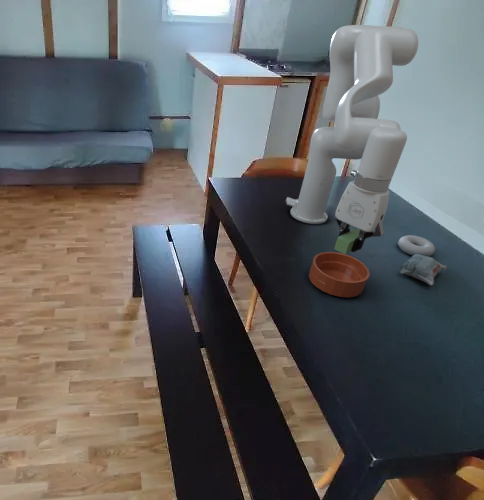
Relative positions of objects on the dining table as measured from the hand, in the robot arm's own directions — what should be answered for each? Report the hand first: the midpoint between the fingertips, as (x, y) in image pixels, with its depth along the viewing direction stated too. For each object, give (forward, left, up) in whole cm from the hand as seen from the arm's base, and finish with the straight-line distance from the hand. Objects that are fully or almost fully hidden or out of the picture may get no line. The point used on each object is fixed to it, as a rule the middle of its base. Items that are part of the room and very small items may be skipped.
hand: (348, 246), depth 106 cm
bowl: (0, 0, -12) cm, 12 cm away
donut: (+14, +34, -12) cm, 39 cm away
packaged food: (+18, +20, -12) cm, 30 cm away
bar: (0, 0, 0) cm, 0 cm away
